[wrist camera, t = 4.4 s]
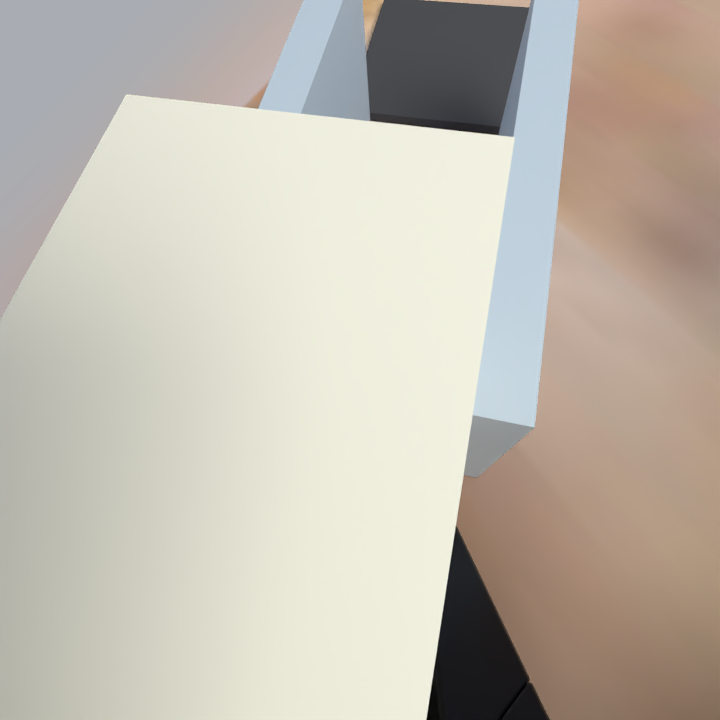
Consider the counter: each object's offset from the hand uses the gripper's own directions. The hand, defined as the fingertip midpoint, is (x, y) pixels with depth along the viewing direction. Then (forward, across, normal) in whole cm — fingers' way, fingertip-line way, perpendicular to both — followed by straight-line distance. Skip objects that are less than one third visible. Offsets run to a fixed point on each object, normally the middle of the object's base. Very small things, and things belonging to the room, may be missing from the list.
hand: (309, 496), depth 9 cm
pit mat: (+20, 0, -10) cm, 22 cm away
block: (+5, 0, +5) cm, 7 cm away
